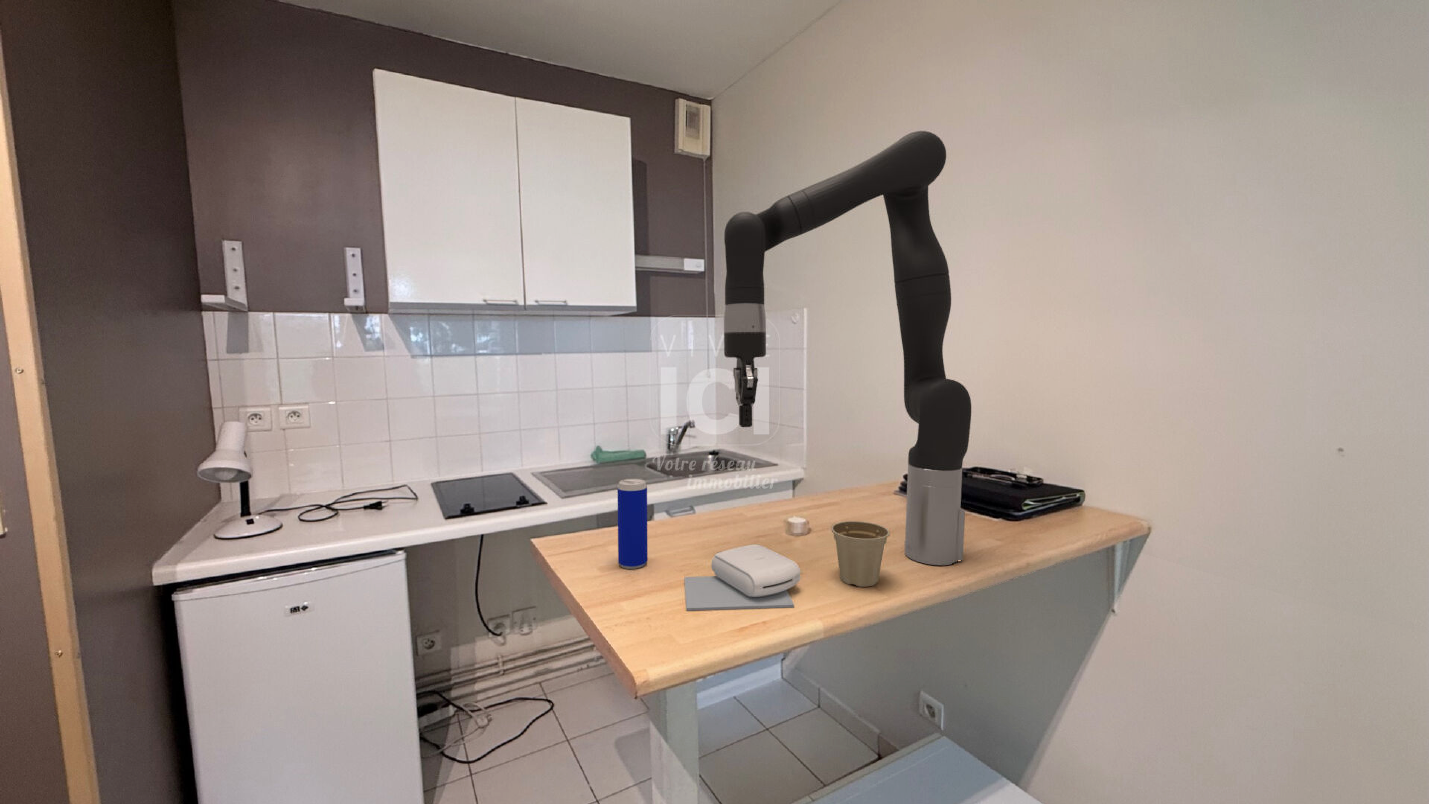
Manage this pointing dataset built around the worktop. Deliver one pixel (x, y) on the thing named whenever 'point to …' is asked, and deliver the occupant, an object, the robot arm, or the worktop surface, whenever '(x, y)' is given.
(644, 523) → the beverage can
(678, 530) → the worktop surface
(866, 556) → the flower pot
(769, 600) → the mat
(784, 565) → the photo printer
